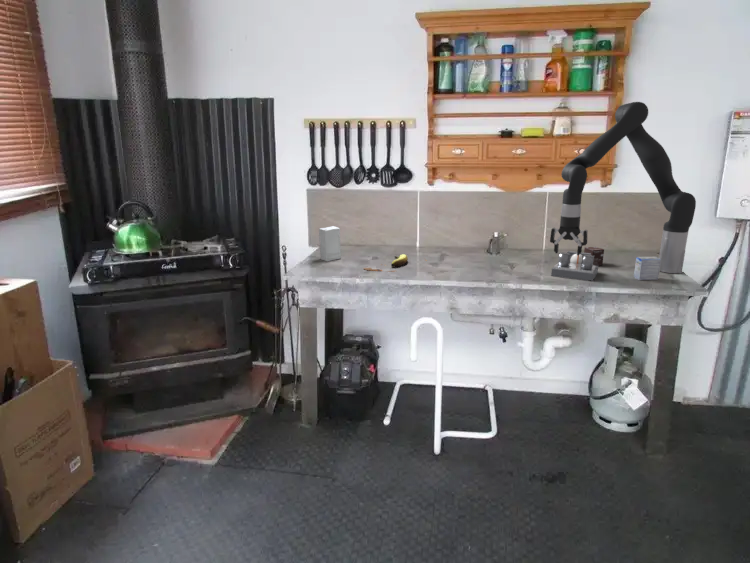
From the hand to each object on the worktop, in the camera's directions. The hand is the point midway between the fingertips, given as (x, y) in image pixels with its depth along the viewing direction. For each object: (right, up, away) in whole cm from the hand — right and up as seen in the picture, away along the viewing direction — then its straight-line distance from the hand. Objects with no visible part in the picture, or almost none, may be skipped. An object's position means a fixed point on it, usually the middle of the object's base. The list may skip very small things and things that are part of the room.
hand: (567, 253), depth 217 cm
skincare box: (-100, -1, +28) cm, 104 cm away
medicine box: (+30, -10, -5) cm, 32 cm away
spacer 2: (+6, -6, -4) cm, 9 cm away
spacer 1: (-2, -5, 0) cm, 5 cm away
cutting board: (-69, -4, +21) cm, 72 cm away
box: (+17, -4, +17) cm, 25 cm away
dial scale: (+4, -8, +1) cm, 9 cm away
